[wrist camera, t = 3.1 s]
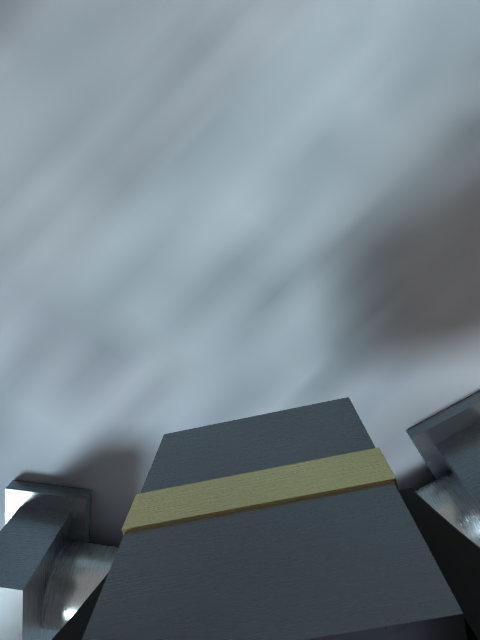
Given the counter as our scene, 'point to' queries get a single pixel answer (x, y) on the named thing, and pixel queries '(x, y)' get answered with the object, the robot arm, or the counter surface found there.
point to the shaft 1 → (46, 559)
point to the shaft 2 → (453, 464)
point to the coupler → (274, 540)
